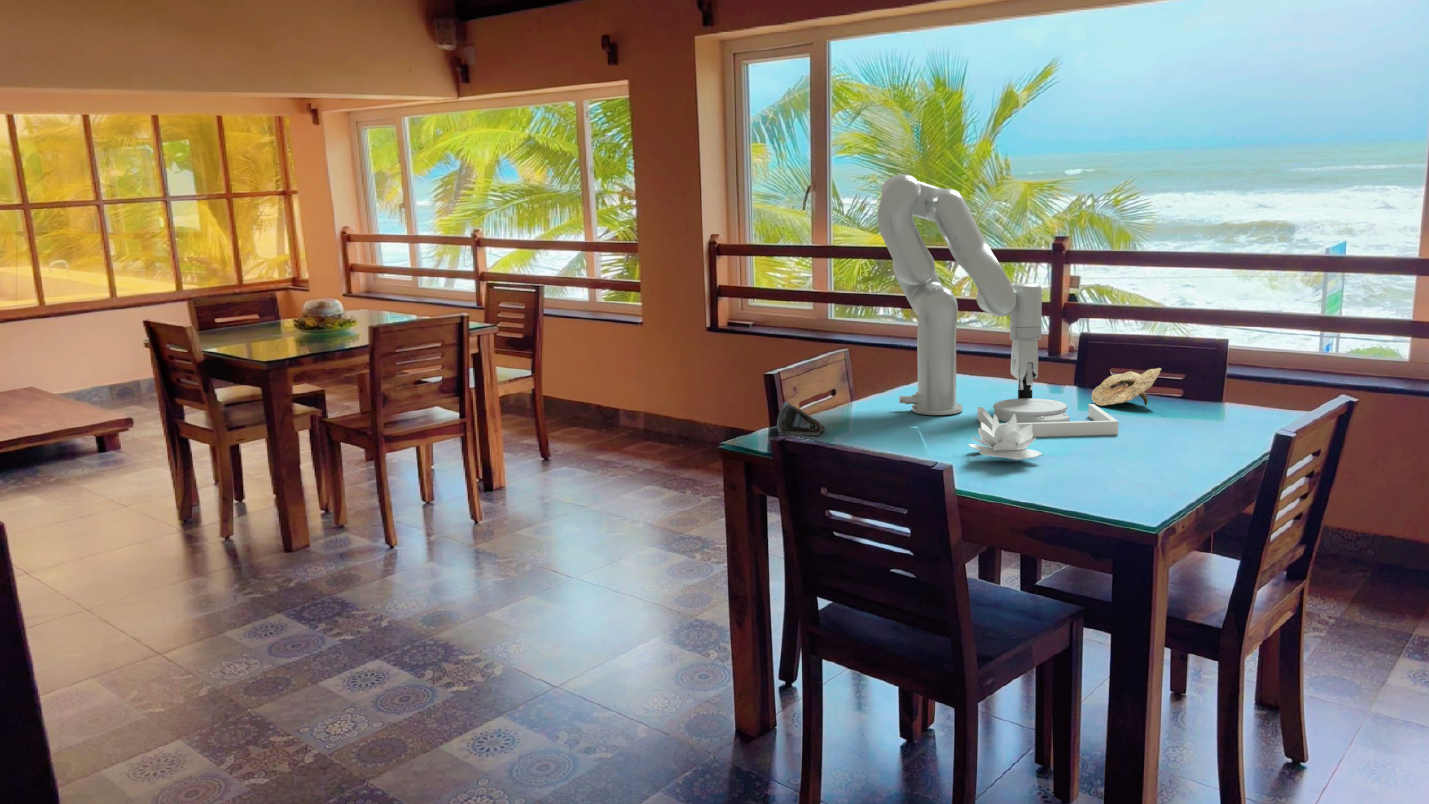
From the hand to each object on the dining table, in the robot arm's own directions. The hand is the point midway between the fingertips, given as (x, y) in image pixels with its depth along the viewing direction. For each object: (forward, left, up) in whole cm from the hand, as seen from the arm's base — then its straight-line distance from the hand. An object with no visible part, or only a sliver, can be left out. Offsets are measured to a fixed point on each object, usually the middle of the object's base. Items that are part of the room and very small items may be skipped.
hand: (1025, 405), depth 268 cm
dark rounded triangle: (-53, -24, -3) cm, 58 cm away
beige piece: (+27, +1, -2) cm, 27 cm away
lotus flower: (-14, -48, -1) cm, 50 cm away
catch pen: (0, -22, -1) cm, 22 cm away
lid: (0, -12, -1) cm, 12 cm away
